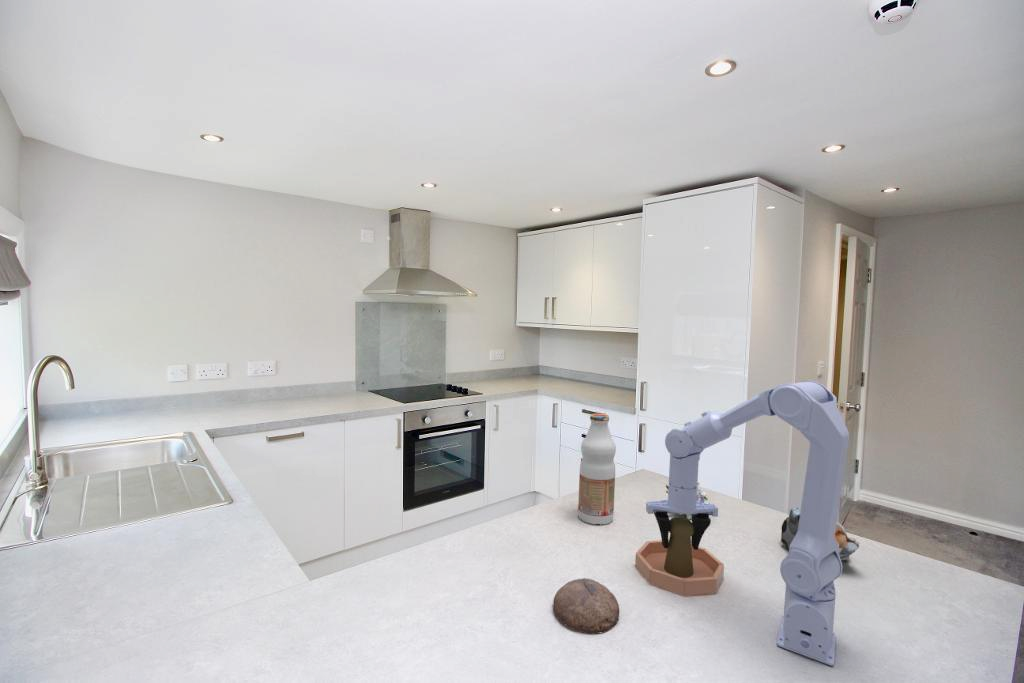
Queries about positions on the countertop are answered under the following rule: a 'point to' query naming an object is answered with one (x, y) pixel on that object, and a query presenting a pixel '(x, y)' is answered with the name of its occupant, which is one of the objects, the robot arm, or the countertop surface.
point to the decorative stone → (586, 606)
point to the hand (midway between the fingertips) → (679, 546)
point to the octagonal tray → (699, 583)
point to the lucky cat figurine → (845, 543)
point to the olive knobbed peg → (679, 548)
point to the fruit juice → (597, 473)
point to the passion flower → (700, 499)
